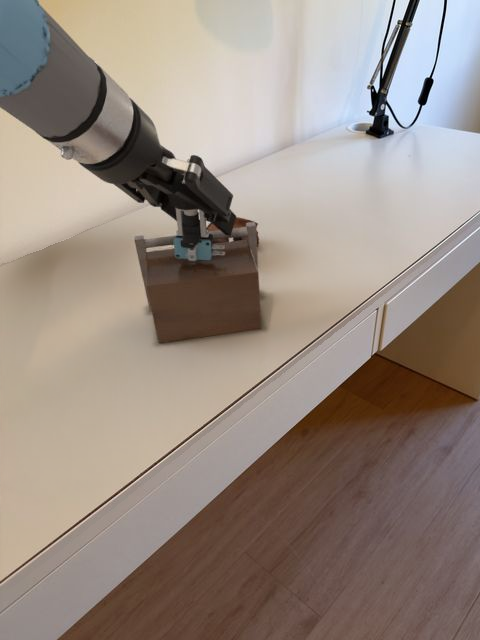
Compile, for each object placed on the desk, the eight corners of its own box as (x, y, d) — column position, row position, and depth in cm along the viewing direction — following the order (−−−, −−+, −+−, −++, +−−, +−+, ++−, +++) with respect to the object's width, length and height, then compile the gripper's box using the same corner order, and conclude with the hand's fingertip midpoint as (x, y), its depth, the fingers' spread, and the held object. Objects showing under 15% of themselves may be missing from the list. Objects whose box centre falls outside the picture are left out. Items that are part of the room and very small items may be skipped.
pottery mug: (190, 259, 89) (199, 209, 87) (237, 267, 94) (246, 220, 93) (224, 270, 79) (235, 215, 78) (274, 278, 85) (286, 227, 83)
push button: (228, 247, 70) (225, 174, 64) (221, 268, 66) (218, 192, 60) (178, 244, 71) (171, 171, 64) (169, 265, 67) (160, 189, 60)
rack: (149, 307, 77) (134, 235, 70) (258, 292, 79) (254, 221, 72) (150, 344, 70) (133, 269, 63) (269, 327, 72) (266, 252, 65)
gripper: (13, 156, 50) (144, 238, 72) (176, 179, 44) (266, 261, 66) (36, 83, 51) (160, 186, 72) (200, 95, 44) (282, 204, 66)
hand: (210, 221), depth 69 cm, fingers closed on push button, 5 cm apart
